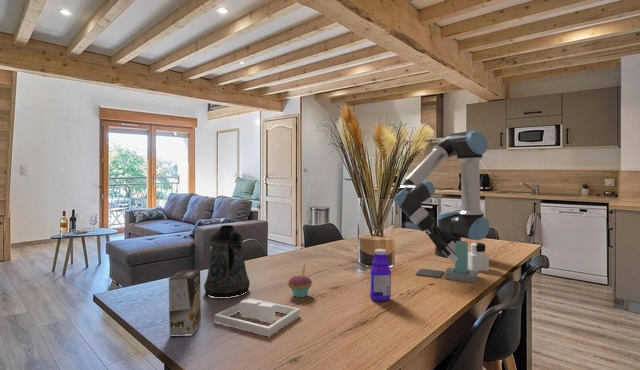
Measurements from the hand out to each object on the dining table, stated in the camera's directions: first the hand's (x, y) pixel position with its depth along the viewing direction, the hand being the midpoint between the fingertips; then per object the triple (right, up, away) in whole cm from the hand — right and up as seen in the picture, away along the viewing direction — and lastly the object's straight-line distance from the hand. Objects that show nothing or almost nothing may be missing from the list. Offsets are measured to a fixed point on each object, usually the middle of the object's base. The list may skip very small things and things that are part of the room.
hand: (458, 257), depth 148 cm
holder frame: (-77, -10, -41) cm, 88 cm away
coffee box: (-96, -11, -48) cm, 108 cm away
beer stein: (-92, -10, -16) cm, 94 cm away
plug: (+1, -9, +1) cm, 9 cm away
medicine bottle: (+14, -8, +13) cm, 21 cm away
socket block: (+1, -9, +1) cm, 9 cm away
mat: (-10, -8, +7) cm, 15 cm away
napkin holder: (-77, -11, -41) cm, 88 cm away
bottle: (-37, -10, -24) cm, 45 cm away
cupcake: (-65, -10, -20) cm, 69 cm away
